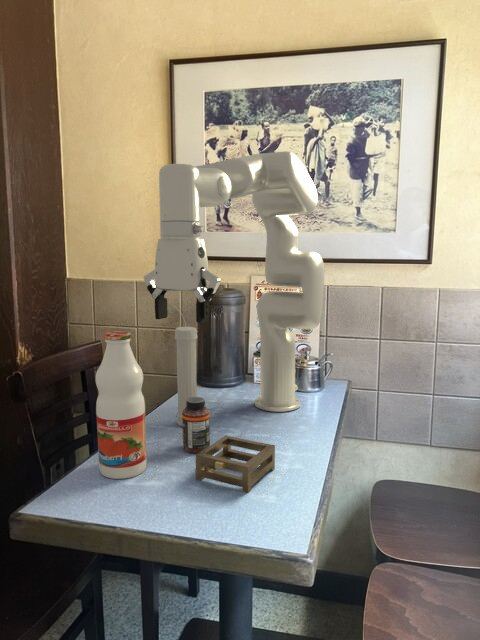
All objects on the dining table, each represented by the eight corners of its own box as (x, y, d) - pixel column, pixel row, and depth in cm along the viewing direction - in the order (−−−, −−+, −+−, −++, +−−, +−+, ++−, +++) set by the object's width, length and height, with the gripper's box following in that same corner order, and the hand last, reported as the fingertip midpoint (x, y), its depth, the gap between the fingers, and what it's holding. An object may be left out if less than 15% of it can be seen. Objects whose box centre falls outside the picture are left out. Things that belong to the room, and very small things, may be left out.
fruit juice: (154, 462, 109) (150, 329, 105) (134, 482, 100) (129, 338, 96) (113, 457, 112) (107, 327, 107) (90, 477, 103) (82, 336, 98)
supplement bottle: (183, 443, 119) (182, 395, 117) (209, 442, 120) (208, 394, 118) (182, 454, 113) (181, 403, 111) (210, 453, 114) (209, 403, 112)
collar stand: (225, 457, 111) (225, 435, 111) (274, 469, 106) (274, 445, 105) (193, 481, 101) (193, 456, 100) (246, 494, 95) (245, 468, 95)
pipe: (195, 428, 129) (193, 306, 124) (170, 426, 130) (167, 306, 125) (201, 420, 134) (199, 303, 129) (177, 418, 135) (175, 303, 131)
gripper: (229, 231, 100) (229, 321, 102) (156, 232, 108) (157, 315, 110) (207, 230, 93) (208, 326, 96) (131, 231, 101) (134, 319, 104)
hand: (181, 320), depth 103 cm, fingers open, 9 cm apart
